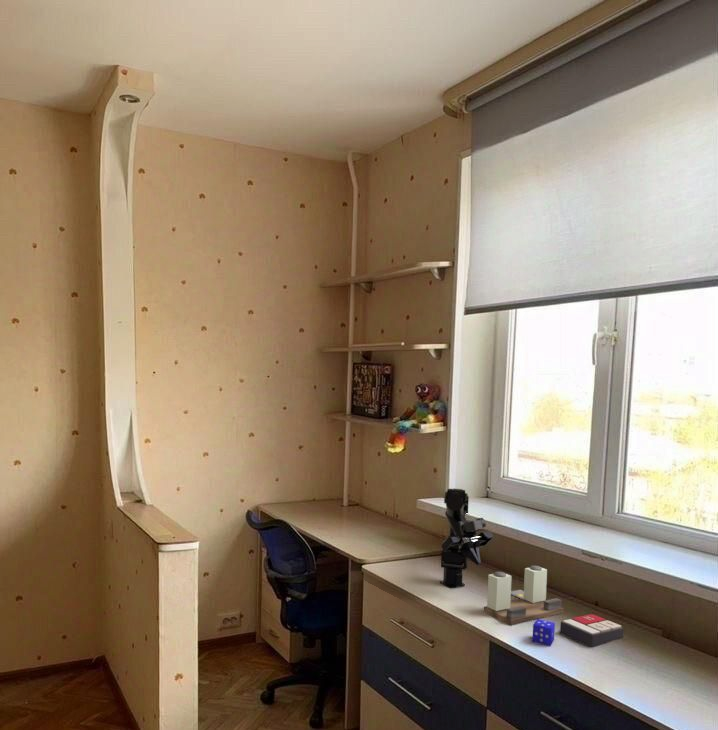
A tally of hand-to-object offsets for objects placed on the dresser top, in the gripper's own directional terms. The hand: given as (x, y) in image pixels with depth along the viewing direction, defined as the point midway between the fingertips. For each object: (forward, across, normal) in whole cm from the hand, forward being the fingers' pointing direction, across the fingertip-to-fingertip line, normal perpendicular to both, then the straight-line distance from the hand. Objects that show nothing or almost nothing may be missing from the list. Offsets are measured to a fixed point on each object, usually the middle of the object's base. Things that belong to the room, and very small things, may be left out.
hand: (479, 564), depth 207 cm
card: (+10, +19, +8) cm, 23 cm away
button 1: (+14, 0, +1) cm, 14 cm away
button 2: (+14, +16, +1) cm, 21 cm away
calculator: (+33, +13, -15) cm, 39 cm away
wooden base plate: (+18, +8, 0) cm, 19 cm away
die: (+31, -3, -13) cm, 33 cm away
